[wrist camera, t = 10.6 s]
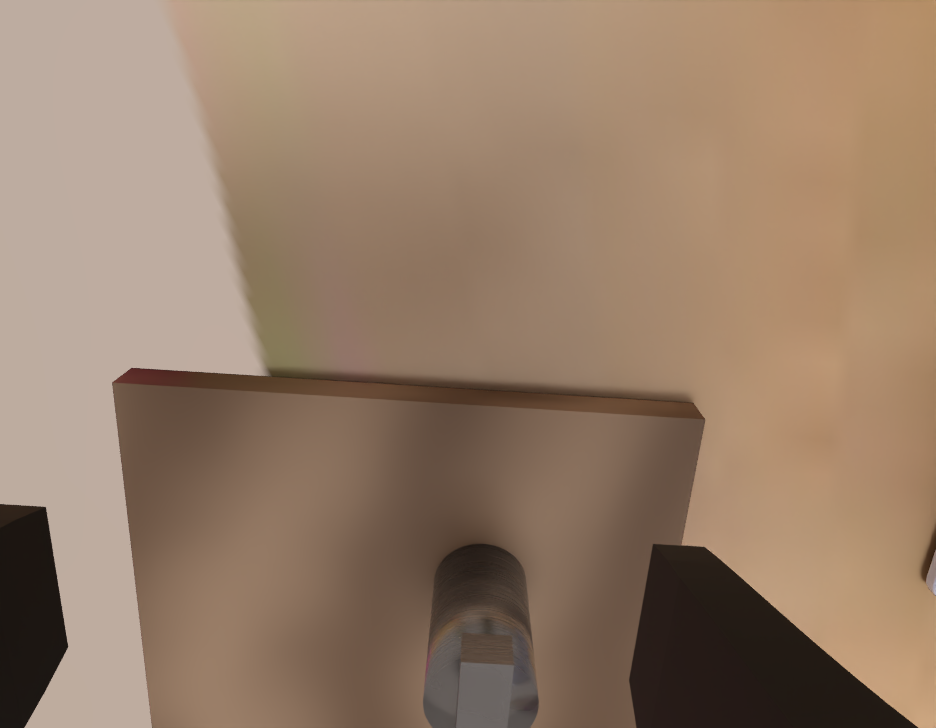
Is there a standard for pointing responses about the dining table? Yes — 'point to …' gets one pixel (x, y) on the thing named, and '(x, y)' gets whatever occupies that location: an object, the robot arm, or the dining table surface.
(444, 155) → the dining table surface
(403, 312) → the dining table surface
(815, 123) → the dining table surface
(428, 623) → the walnut plate
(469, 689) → the metal T-head stake
